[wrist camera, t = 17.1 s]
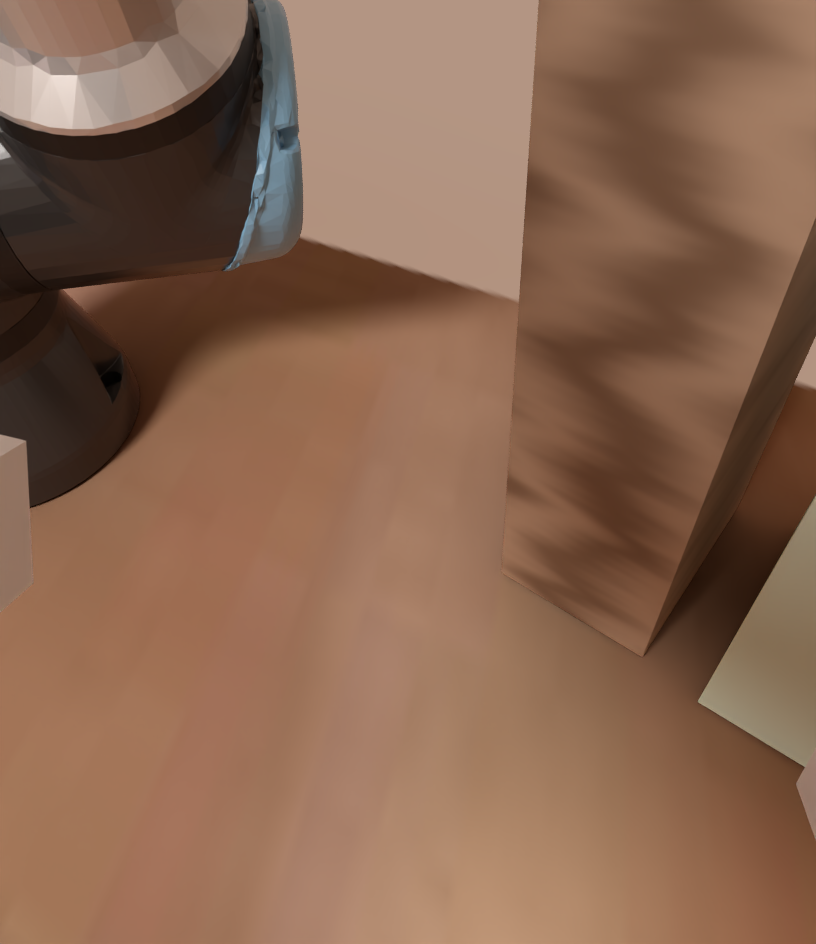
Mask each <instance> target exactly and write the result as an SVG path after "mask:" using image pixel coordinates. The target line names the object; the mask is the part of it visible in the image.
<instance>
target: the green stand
mask: <svg viewBox="0 0 816 944" xmlns="http://www.w3.org/2000/svg"><path fill="white" fill-rule="evenodd" d="M698 702H699V703H700V704H702V705H703V706H705V707H707V708H708V709H710V710H712V711H713V712H715V713H717V714H718V715H720V716H722V717H723V718H725V719H727V720H728V721H730V722H731V723H733V724H735V725H736V726H738V727H740V728H741V729H743V730H745V731H746V732H748V733H750V734H751V735H753V736H754V737H756V738H758V739H759V740H761V741H763V742H764V743H766V744H768V745H769V746H771V747H773V748H774V749H776V750H778V751H779V752H781V753H782V754H784V755H786V756H787V757H789V758H791V759H792V760H794V761H796V762H797V763H799V764H801V765H802V766H804V767H805V766H806V765H807V763H808V761H809V759H810V757H811V756H812V754H813V752H814V750H815V748H816V494H815V496H814V498H813V500H812V501H811V503H810V505H809V507H808V508H807V510H806V512H805V514H804V515H803V517H802V519H801V521H800V522H799V524H798V526H797V528H796V529H795V531H794V533H793V535H792V536H791V538H790V540H789V542H788V543H787V545H786V547H785V549H784V550H783V552H782V554H781V556H780V557H779V559H778V561H777V563H776V565H775V566H774V568H773V570H772V572H771V573H770V575H769V577H768V579H767V580H766V582H765V584H764V586H763V587H762V589H761V591H760V593H759V594H758V596H757V598H756V600H755V601H754V603H753V605H752V607H751V608H750V610H749V612H748V614H747V616H746V617H745V619H744V621H743V623H742V624H741V626H740V628H739V630H738V631H737V633H736V635H735V637H734V638H733V640H732V642H731V644H730V645H729V647H728V649H727V651H726V652H725V654H724V656H723V658H722V660H721V661H720V663H719V665H718V667H717V668H716V670H715V672H714V674H713V675H712V677H711V679H710V681H709V682H708V684H707V686H706V688H705V689H704V691H703V693H702V695H701V696H700V698H699V700H698Z"/></svg>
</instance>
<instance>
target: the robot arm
mask: <svg viewBox="0 0 816 944" xmlns="http://www.w3.org/2000/svg"><path fill="white" fill-rule="evenodd" d="M298 132H299V126H298V104H297V92H296V81H295V72H294V63H293V54H292V46H291V39H290V33H289V27H288V21H287V17H286V13H285V10H284V7H283V6H282V4H281V3H280V2H279V1H278V0H0V612H1V611H2V610H4V609H5V608H6V607H7V606H8V605H9V604H10V603H12V602H13V601H14V600H15V599H16V598H17V597H18V596H20V595H21V594H22V593H23V592H24V591H25V590H26V589H27V588H29V587H30V586H31V585H32V584H33V563H32V544H31V524H30V507H31V506H34V505H37V504H40V503H42V502H45V501H47V500H49V499H52V498H54V497H56V496H58V495H60V494H62V493H64V492H66V491H68V490H69V489H71V488H73V487H74V486H76V485H78V484H79V483H81V482H82V481H84V480H85V479H87V478H88V477H89V476H91V475H92V474H93V473H94V472H96V471H97V470H98V469H99V468H101V467H102V466H103V465H104V464H105V463H106V462H107V461H108V460H109V459H110V458H111V457H112V456H113V455H114V454H115V452H116V451H117V450H118V449H119V448H120V446H121V445H122V444H123V442H124V441H125V439H126V438H127V436H128V435H129V433H130V431H131V429H132V427H133V425H134V423H135V420H136V417H137V414H138V410H139V403H140V392H139V386H138V382H137V379H136V377H135V375H134V373H133V371H132V368H131V366H130V364H129V362H128V360H127V358H126V355H125V354H124V352H123V350H122V349H121V347H120V346H119V345H118V343H117V342H116V341H115V340H114V339H113V338H112V337H111V336H110V335H109V334H108V333H107V332H106V331H105V330H104V329H103V328H102V327H101V326H100V325H99V324H98V323H97V322H96V321H95V320H94V319H93V318H92V317H90V316H89V315H88V314H87V313H86V312H85V311H84V310H83V309H82V308H81V307H80V306H79V305H78V304H77V303H76V302H75V301H74V300H73V299H72V298H71V297H70V296H69V295H68V294H67V293H66V292H65V291H64V290H63V289H67V288H76V287H84V286H92V285H101V284H109V283H117V282H126V281H134V280H142V279H151V278H159V277H168V276H176V275H184V274H193V273H201V272H209V271H218V270H222V271H232V270H234V269H236V268H238V267H239V266H240V265H243V264H248V263H253V262H258V261H264V260H269V259H274V258H278V257H281V256H283V255H285V254H286V253H288V252H289V251H290V250H291V249H292V248H293V247H294V246H295V244H296V243H297V241H298V239H299V237H300V234H301V230H302V221H303V183H302V162H301V149H300V142H299V139H298ZM796 786H797V788H798V791H799V794H800V797H801V800H802V803H803V805H804V808H805V811H806V814H807V817H808V820H809V822H810V825H811V828H812V831H813V834H814V837H815V840H816V748H815V750H814V752H813V754H812V756H811V757H810V759H809V761H808V763H807V765H806V766H805V768H804V770H803V772H802V774H801V775H800V777H799V779H798V781H797V783H796Z"/></svg>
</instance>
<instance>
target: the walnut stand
mask: <svg viewBox="0 0 816 944" xmlns="http://www.w3.org/2000/svg"><path fill="white" fill-rule="evenodd" d="M815 336H816V0H539V6H538V22H537V37H536V51H535V67H534V82H533V97H532V113H531V128H530V143H529V159H528V174H527V190H526V205H525V219H524V235H523V250H522V265H521V281H520V296H519V311H518V326H517V341H516V357H515V372H514V387H513V403H512V418H511V433H510V448H509V464H508V479H507V494H506V509H505V525H504V540H503V555H502V571H501V573H503V574H504V575H506V576H508V577H509V578H511V579H513V580H514V581H516V582H518V583H519V584H521V585H523V586H524V587H526V588H528V589H529V590H531V591H533V592H534V593H536V594H538V595H539V596H541V597H543V598H544V599H546V600H548V601H549V602H551V603H553V604H554V605H556V606H558V607H559V608H561V609H563V610H564V611H566V612H568V613H569V614H571V615H573V616H574V617H576V618H578V619H579V620H581V621H583V622H584V623H586V624H588V625H589V626H591V627H593V628H594V629H596V630H598V631H599V632H601V633H603V634H604V635H606V636H608V637H609V638H611V639H613V640H614V641H616V642H618V643H619V644H621V645H623V646H624V647H626V648H628V649H629V650H631V651H633V652H634V653H636V654H638V655H639V656H641V657H643V656H644V654H645V652H646V651H647V649H648V648H649V646H650V645H651V643H652V641H653V640H654V638H655V637H656V635H657V633H658V632H659V630H660V629H661V627H662V626H663V624H664V622H665V621H666V619H667V618H668V616H669V615H670V613H671V611H672V610H673V608H674V607H675V605H676V604H677V602H678V600H679V599H680V597H681V596H682V594H683V593H684V591H685V589H686V588H687V586H688V585H689V583H690V581H691V580H692V578H693V577H694V575H695V574H696V572H697V570H698V569H699V567H700V566H701V564H702V563H703V561H704V559H705V558H706V556H707V555H708V553H709V552H710V550H711V548H712V547H713V545H714V544H715V542H716V540H717V539H718V537H719V536H720V534H721V533H722V531H723V529H724V528H725V526H726V525H727V523H728V522H729V520H730V518H731V517H732V515H733V514H734V512H735V511H736V509H737V507H738V506H739V503H740V501H741V499H742V497H743V495H744V492H745V490H746V488H747V486H748V484H749V481H750V479H751V477H752V475H753V473H754V470H755V468H756V466H757V464H758V462H759V459H760V457H761V455H762V453H763V451H764V448H765V446H766V444H767V442H768V440H769V437H770V435H771V433H772V431H773V429H774V426H775V424H776V422H777V420H778V418H779V415H780V413H781V411H782V409H783V407H784V404H785V402H786V400H787V398H788V396H789V393H790V391H791V389H792V387H793V385H794V382H795V380H796V378H797V376H798V373H799V371H800V369H801V367H802V365H803V363H804V360H805V358H806V356H807V354H808V352H809V349H810V347H811V345H812V343H813V340H814V338H815Z"/></svg>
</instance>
